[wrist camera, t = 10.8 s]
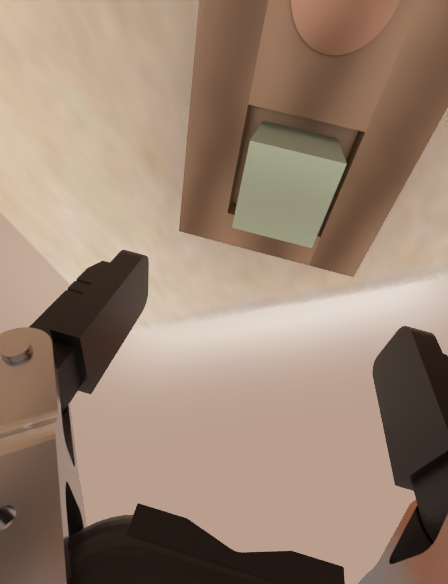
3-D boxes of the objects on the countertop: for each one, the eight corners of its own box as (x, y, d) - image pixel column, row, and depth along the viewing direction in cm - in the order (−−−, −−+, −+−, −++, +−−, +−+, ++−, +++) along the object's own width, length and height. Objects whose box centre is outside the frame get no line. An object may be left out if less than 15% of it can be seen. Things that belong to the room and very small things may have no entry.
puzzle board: (190, 215, 27) (176, 234, 24) (234, -184, 14) (216, -242, 11) (349, 256, 26) (354, 281, 23) (547, -127, 13) (610, -174, 11)
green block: (246, 193, 23) (231, 227, 19) (262, 120, 20) (250, 140, 16) (310, 209, 23) (311, 248, 19) (337, 138, 20) (346, 163, 15)
